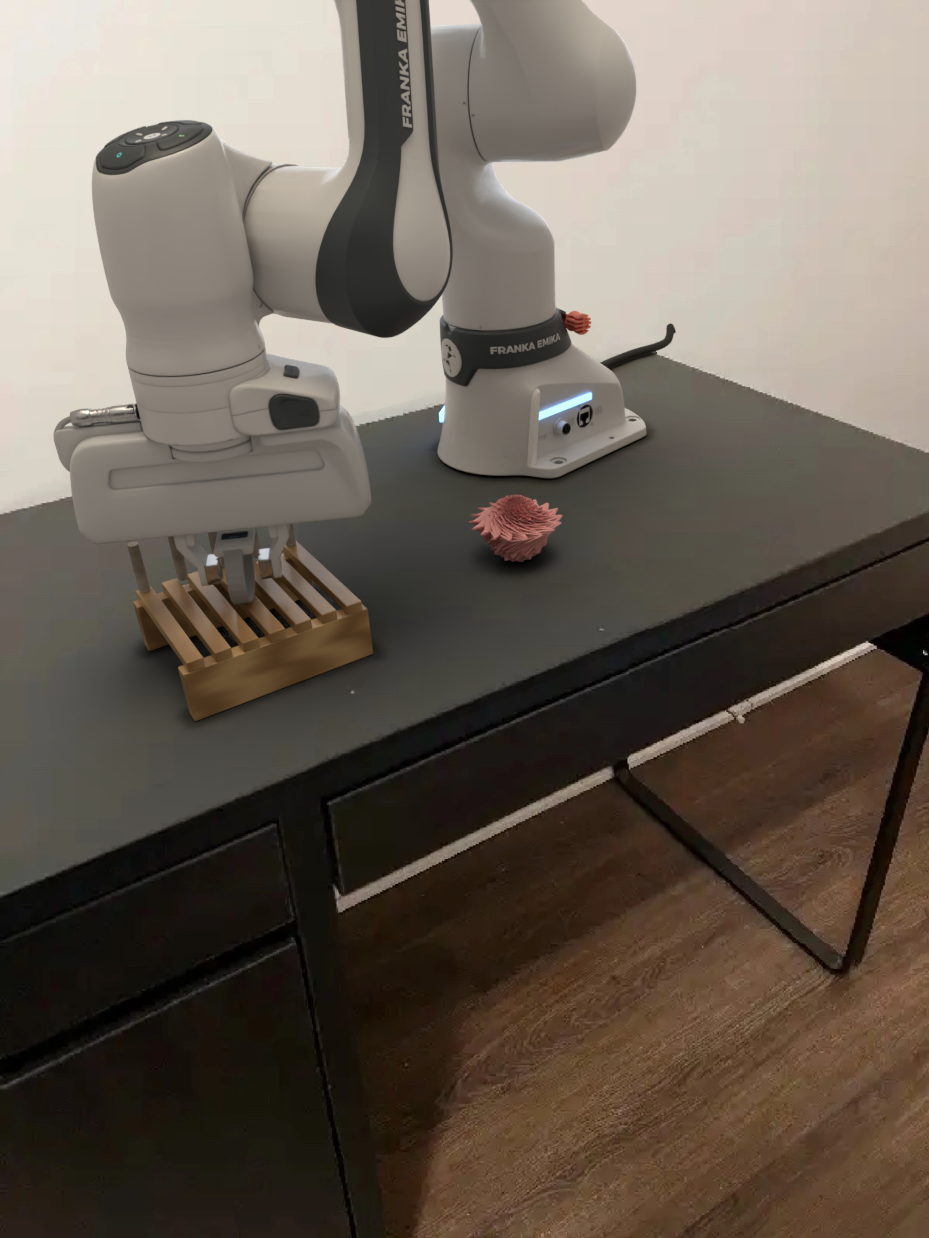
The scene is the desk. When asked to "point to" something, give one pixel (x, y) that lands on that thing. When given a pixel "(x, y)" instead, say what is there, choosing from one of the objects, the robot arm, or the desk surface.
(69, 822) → the desk surface
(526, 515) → the flower
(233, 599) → the wristwatch
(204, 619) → the rack
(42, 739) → the desk surface
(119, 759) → the desk surface
